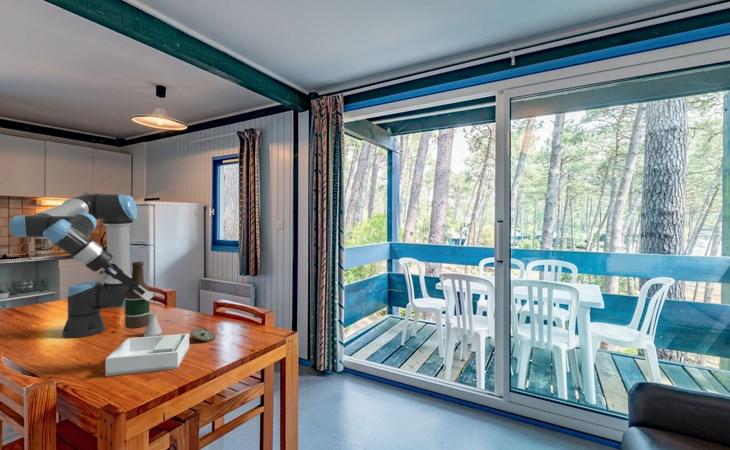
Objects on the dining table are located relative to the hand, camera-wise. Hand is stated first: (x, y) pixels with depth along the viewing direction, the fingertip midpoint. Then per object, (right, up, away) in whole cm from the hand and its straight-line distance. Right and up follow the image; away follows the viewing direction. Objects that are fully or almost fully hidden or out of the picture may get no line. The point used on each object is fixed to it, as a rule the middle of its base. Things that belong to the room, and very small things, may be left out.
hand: (148, 296), depth 127 cm
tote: (+1, -24, 0) cm, 24 cm away
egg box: (+7, -23, +1) cm, 24 cm away
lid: (+10, -24, +22) cm, 35 cm away
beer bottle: (-3, -11, -2) cm, 11 cm away
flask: (-15, -24, +27) cm, 39 cm away
